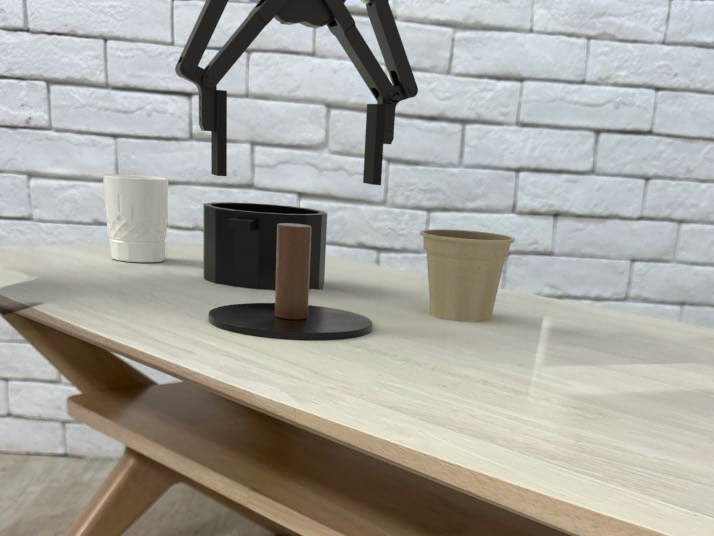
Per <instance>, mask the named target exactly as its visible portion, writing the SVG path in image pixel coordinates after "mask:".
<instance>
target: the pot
mask: <svg viewBox="0 0 714 536" xmlns="http://www.w3.org/2000/svg"><path fill="white" fill-rule="evenodd" d="M202 206H203V208H202V209H203V210H202V211H203V217H202V218H203V221H202V222H203V223H202V224H203V226H202V227H203V231H202V232H203V234H202V235H203V238H202V239H203V240H202V241H203V242H202V243H203V245H202V246H203V247H202V249H203V251H202V252H203V261H202V262H203V265H202V267H203V269H202V270H203V272H202V274H203V279H204V281H207V282H209V283H213V284H216V285H217V284H218V285H222V286H228V287H233V288H242V289H250V290H251V289H252V290H266V291H275V284H276V247H277V224H279V223H292V224H303V225H309V226H311V251H310V276H309V290H319V291H323V290H324V286H325V277H326V276H325V273H326V272H325V271H326V254H327V253H326V251H327V249H326V248H327V231H328V230H327V229H328V213H327V212H326V211H324V210H319V209H314V208H310V207H301V206H294V205H293V206H291V205H281V204H272V203H271V204H270V203H255V202H231V201H230V202H229V201H227V202H226V201H225V202H224V201H223V202H221V201H217V202H215V201H214V202H213V201H212V202H205V203H203V205H202Z"/></svg>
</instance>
